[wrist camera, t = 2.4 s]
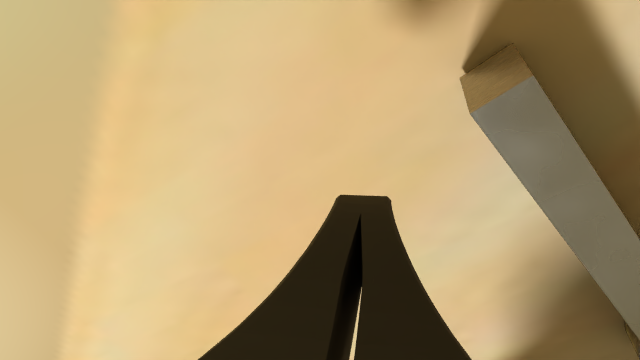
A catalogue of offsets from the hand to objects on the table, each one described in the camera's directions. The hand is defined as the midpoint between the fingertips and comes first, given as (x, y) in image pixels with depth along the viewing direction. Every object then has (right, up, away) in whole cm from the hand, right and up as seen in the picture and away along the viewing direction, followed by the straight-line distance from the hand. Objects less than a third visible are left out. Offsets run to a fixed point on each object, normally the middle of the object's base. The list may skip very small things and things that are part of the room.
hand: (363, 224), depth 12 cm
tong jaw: (+10, -1, +5) cm, 11 cm away
